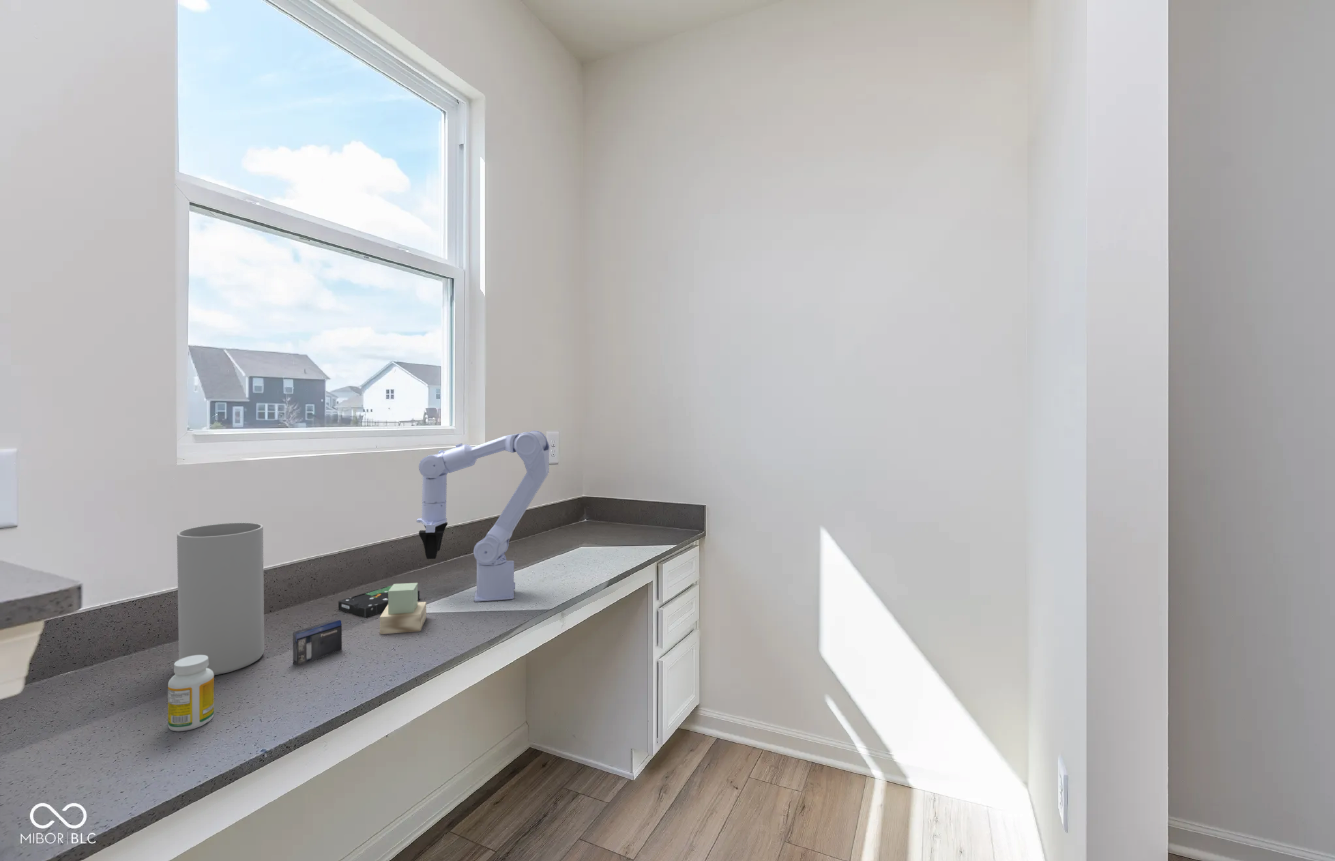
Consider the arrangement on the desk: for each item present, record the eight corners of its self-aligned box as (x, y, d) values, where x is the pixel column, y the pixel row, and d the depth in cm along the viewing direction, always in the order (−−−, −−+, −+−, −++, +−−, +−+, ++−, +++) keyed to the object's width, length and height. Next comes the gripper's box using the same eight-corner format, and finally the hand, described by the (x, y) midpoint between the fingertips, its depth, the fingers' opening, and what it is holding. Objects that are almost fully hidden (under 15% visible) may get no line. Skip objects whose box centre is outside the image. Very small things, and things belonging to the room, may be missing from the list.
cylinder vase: (162, 680, 99) (159, 538, 98) (205, 650, 111) (203, 523, 110) (243, 675, 102) (241, 536, 101) (276, 646, 114) (275, 522, 113)
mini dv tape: (297, 665, 106) (297, 633, 106) (293, 663, 107) (292, 632, 106) (341, 650, 113) (341, 620, 113) (337, 648, 114) (337, 618, 113)
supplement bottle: (172, 736, 83) (171, 671, 82) (164, 723, 86) (163, 660, 86) (218, 721, 87) (217, 659, 87) (209, 709, 90) (209, 649, 90)
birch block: (426, 618, 131) (426, 601, 130) (420, 632, 123) (420, 614, 123) (388, 621, 129) (388, 604, 128) (379, 635, 121) (379, 616, 121)
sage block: (417, 604, 128) (417, 582, 128) (413, 612, 124) (413, 589, 123) (393, 606, 127) (393, 583, 127) (388, 614, 122) (388, 591, 122)
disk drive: (365, 620, 130) (420, 600, 143) (365, 608, 130) (420, 589, 143) (337, 612, 134) (393, 593, 148) (337, 600, 134) (392, 583, 147)
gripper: (421, 497, 151) (420, 547, 152) (412, 506, 137) (411, 562, 138) (449, 496, 153) (448, 547, 153) (444, 506, 139) (442, 561, 139)
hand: (433, 554), depth 146 cm, fingers open, 7 cm apart
